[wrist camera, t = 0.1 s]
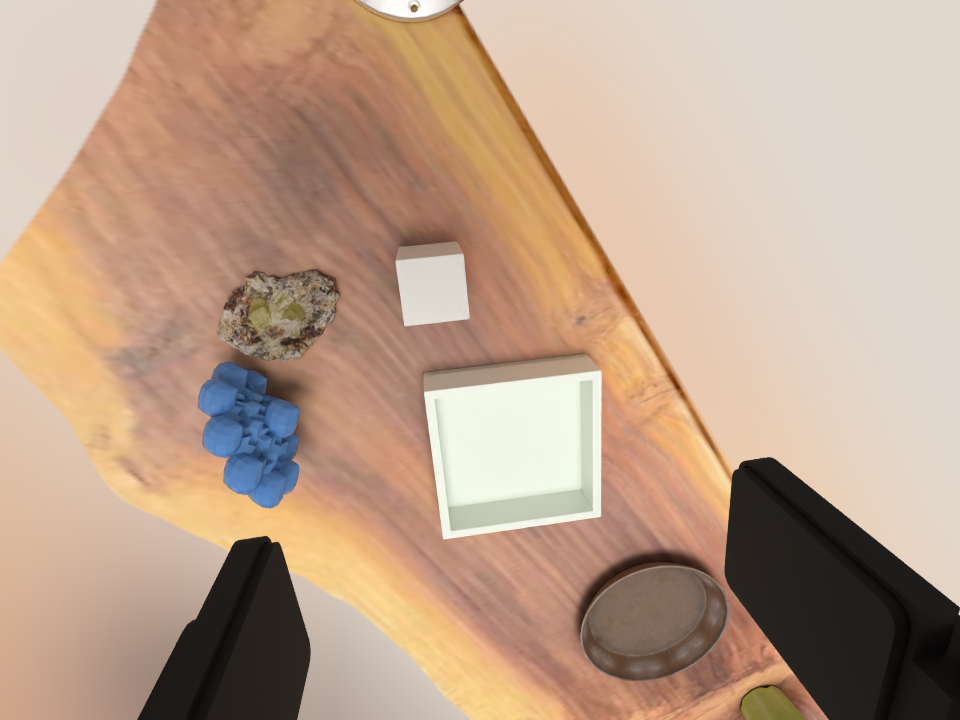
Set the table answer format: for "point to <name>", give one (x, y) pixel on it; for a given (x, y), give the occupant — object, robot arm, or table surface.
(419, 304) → the stone block
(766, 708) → the plant pot
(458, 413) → the sage bin
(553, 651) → the table surface
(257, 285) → the mineral rock
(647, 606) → the plant saucer
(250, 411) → the blue knobby lump
